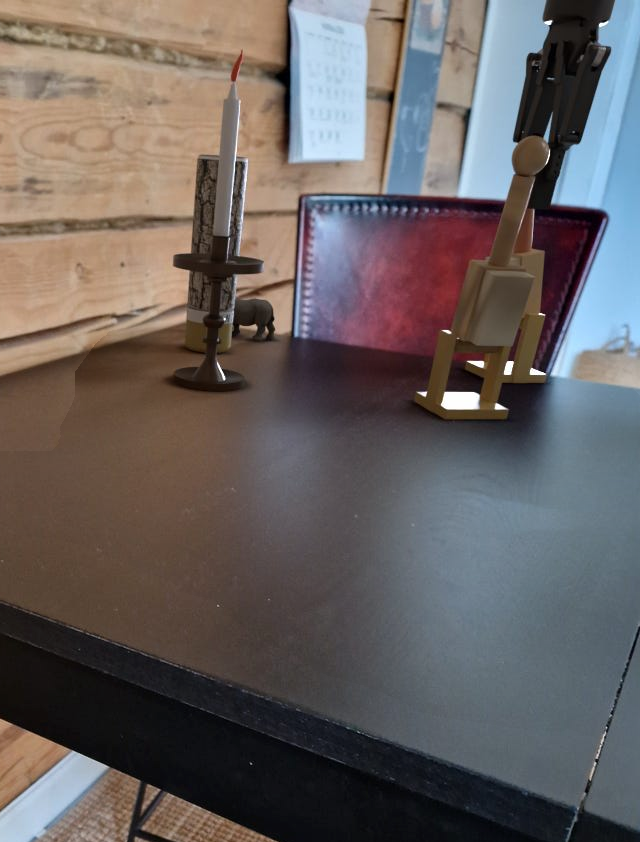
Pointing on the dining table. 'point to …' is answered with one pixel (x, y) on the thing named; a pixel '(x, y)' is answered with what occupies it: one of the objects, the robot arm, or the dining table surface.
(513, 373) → the bracket far
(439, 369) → the bracket near
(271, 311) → the rhino figurine
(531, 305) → the brush far
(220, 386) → the candlestick
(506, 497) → the dining table surface
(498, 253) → the brush near
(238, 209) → the paper tube
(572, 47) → the robot arm
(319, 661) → the dining table surface
